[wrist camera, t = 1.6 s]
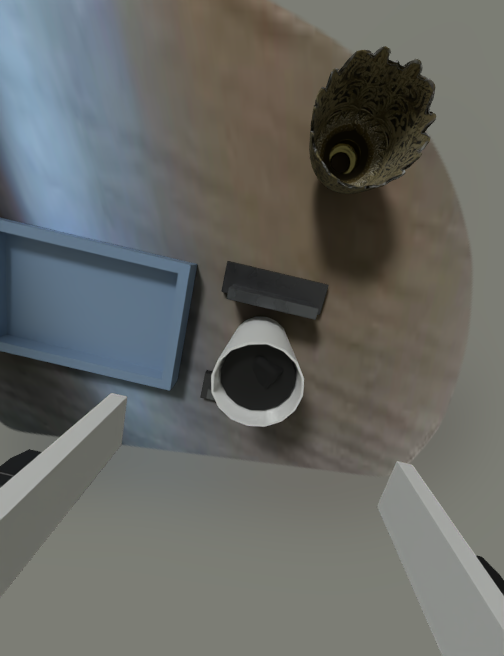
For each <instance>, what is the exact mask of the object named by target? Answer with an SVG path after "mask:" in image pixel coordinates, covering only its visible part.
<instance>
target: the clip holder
mask: <svg viewBox="0 0 504 656" xmlns="http://www.w3.org/2000/svg"><path fill="white" fill-rule="evenodd" d="M328 286H329V285H327V284H323V283H319V282H315V281H311V280H307V279H302V278H298V277H294V276H290V275H285V274H281V273H277V272H273V271H269V270H264V269H260V268H256V267H252V266H247V265H243V264H239V263H235V262H231V261H227V266H226V271H225V276H224V281H223V286H222V292H225V293H228V295H227V299H230V300H234V301H238V302H242V303H247V304H251V305H255V306H259V307H264V308H268V309H272V310H276V311H281V312H285V313H289V314H293V315H297V316H302V317H306V318H310V319H314V320H315V319H316V316H317V314H318V315H320V312H321V309H322V305H323V302H324V299H325V296H326V292H327V289H328ZM212 373H213V371H208V370H207V371H206V373H205V377H204V382H203V387H202V392H201V398H205V399H209V400H213V401H215V399H214V397H213V395H212V391H211V375H212ZM287 418H289V416H288V417H287Z"/></svg>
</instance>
